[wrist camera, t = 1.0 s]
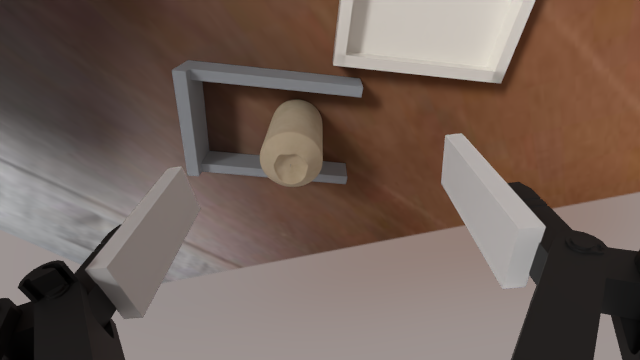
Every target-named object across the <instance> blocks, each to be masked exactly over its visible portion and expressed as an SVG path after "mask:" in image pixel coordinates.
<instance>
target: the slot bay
mask: <svg viewBox="0 0 640 360" xmlns="http://www.w3.org/2000/svg"><path fill="white" fill-rule="evenodd" d="M172 76H173V82H174V89H175V96H176V102H177V109H178V115H179V122H180V128H181V135H182V142H183V148H184V155H185V161H186V168H187V174H188V175H190V176H199V175H200V174H201V172H214V173H225V174H236V175H247V176H259V177H268V176H267V175H266V174H265V173H264V171H263V169H262V167H261V164H260V155H250V154H239V153H228V152H217V151H209V142H208V132H207V122H206V112H205V102H204V92H203V83H202V81H207V82H216V83H226V84H236V85H246V86H255V87H265V88H275V89H284V90H294V91H304V92H313V93H323V94H333V95H343V96H352V97H362V91H363V85H362V82H361V80H360V78H352V77H343V76H333V75H324V74H314V73H305V72H295V71H286V70H277V69H267V68H258V67H248V66H239V65H230V64H220V63H211V62H201V61H192V60H187V61H186V62H184V63H182V64H181V65H179V66H178V67H176V68H174V69H173V70H172ZM313 181H315V182H326V183H338V184H346V181H347V171H346V163H337V162H326V161H323V163H322V168H321V171H320V173H319V174H318V176H317V177H316V178H315V179H314V180H313Z"/></svg>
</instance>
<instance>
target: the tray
mask: <svg viewBox="0 0 640 360" xmlns="http://www.w3.org/2000/svg"><path fill="white" fill-rule="evenodd" d="M534 3H535V0H339V9H338V17H337V26H336V34H335V43H334V51H333V66H343V67H352V68H361V69H370V70H380V71H389V72H398V73H408V74H417V75H426V76H435V77H445V78H454V79H463V80H472V81H482V82H491V83H500V84H501V82H502V80H503V77H504V75H505V72H506V70H507V68H508V65H509V63H510V60H511V58H512V56H513V53H514V51H515V48H516V46H517V44H518V41H519V39H520V36H521V34H522V31H523V29H524V27H525V24H526V22H527V19H528V17H529V15H530V12H531V10H532V7H533V5H534Z"/></svg>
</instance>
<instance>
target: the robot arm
mask: <svg viewBox="0 0 640 360" xmlns="http://www.w3.org/2000/svg"><path fill="white" fill-rule="evenodd" d="M441 184H442V185H443V187H444V189H445V191H446V192H447V194H448V196H449V198H450V199H451V201H452V203H453V204H454V206H455V208H456V210H457V211H458V213H459V215H460V217H461V218H462V220H463V222H464V223H465V225H466V227H467V229H468V230H469V232H470V234H471V235H472V237H473V239H474V241H475V242H476V244H477V246H478V248H479V249H480V251H481V253H482V255H483V256H484V258H485V260H486V261H487V263H488V265H489V266H490V268H491V270H492V272H493V274H494V275H495V277H496V279H497V280H498V282H499V284H500V286H501V287H502V289H507V288H521V287H526V284H527V281H528V278H529V276H531V278H532V279H533V281H534V282H535V284H536V285H537V286H536V289H535V291H534V294H533V297H532V300H531V302H530V306H529V309H528V312H527V315H526V318H525V320H524V324H523V326H522V329H521V332H520V335H519V338H518V341H517V344H516V347H515V349H514V353H513V355H512V358H511V360H593V358H594V352H595V346H596V339H597V333H598V327H599V319H600V314H601V313H603V314H608V315H611V317H612V321H613V325H614V329H615V333H616V337H617V340H618V344H619V348H620V352H621V355H622V359H623V360H640V250H639V251H631V250H622V249H615V248H608V247H607V246H606V245H605V244H604V243H603V242H602V241H601V240H599V239H597V238H596V237H594V236H592V235H589V234H587V233H584V232H579V231H574V230H572V229H571V228H570V227H569V226H568V225H567V224H566V223H565V222H564V221H563V220H562V219H561V218H560V217H559V216H558V215H557V214H556V213H555V212H554V211H553V210H552V209H551V208H550V207H549V206H547V204H546V203H545V202H544V201H543V200H542V199H540V197H539V196H538V195H537V194H536V193H535V192H534V191H533V190H532V189H531V188H529V187H527V186H525V185H523V184H522V183H520V182H514V183H506V182H505V181H504V180H503V178H502V177H501V176H500V175H499V174H498V173H497V172H496V171H495V170H494V168H493V167H492V166H491V165H490V164H489V163H488V162H487V161H486V160H485V158H484V157H483V156H482V155H481V154H480V153H479V152H478V151H477V150H476V148H475V147H474V146H473V145H472V144H471V143H470V142H469V141H468V140H467V138H466V137H465V136H464V135H463V134H462V133H460V134H452V135H445V145H444V156H443V167H442V179H441ZM200 209H201V208H200V206H199V204H198V201H197V199H196V197H195V195H194V192H193V190H192V188H191V185H190V183H189V181H188V178H187V176H186V174H185V172H184V169H183V167H174V168H168V169H167V170H166V171H165V172H164V174H163V175H162V176H161V177H160V179H159V180H158V181H157V182H156V183H155V185H154V186H153V187H152V188H151V190H150V191H149V192H148V193H147V194H146V196H145V197H144V198H143V199H142V201H141V202H140V203H139V204H138V205H137V207H136V208H135V209H134V210H133V212H132V213H131V214H130V215H129V216H128V218H127V219H126V220H125V221H124V223H123V224H122V225H119V226H117V227H116V228H115V229H113V230H112V231H111V232H109V233H108V234H107V236H106V237H105V238H104V239H103V240H102V242H101V244H99V245H98V246H97V247H96V249H95V251H94V252H92V253H91V255H90V256H89V257H88V258H87V259H86V261H85V262H84V263H83V264H82V265H81V266H80V268H79V269H78V270H77V271H76V272H75V274H74V273H73V272H72V271H71V270H70V269H69V268H68V266H67V265H66V264H65V263H64V261H59V260H57V261H51V262H49V263H46V264H43V265H41V266H39V267H38V268H36V269H34V270H33V271H31V272H30V273H29V274H28V275H26V276H25V277H24V278H23V279H22V281H21V282H20V284H19V286H18V288H19V289H20V290H21V291H22V292H23V293H24V294H25V295H26V296H27V297H28V298H29V299H30V300H31V302H28V303H25V304H22V305H19V306H16V305H15V304H14V303H13V302H12V301H11V300H10V299H9V298H1V299H0V360H125V358H124V354H123V350H122V347H121V343H120V340H119V335H118V332H117V328H116V324H115V323H114V321H113V320H112V319H111V317H112V316H113V314H114V312H115V311H116V309H117V311H118V312H119V313H120V314H121V316H122V317H123V318H124V319H129V318H142V317H143V316H144V315H145V313H146V311H147V309H148V307H149V305H150V303H151V301H152V299H153V298H154V296H155V294H156V292H157V290H158V288H159V286H160V284H161V283H162V281H163V279H164V277H165V275H166V273H167V271H168V269H169V268H170V266H171V264H172V262H173V260H174V258H175V256H176V254H177V253H178V251H179V249H180V247H181V245H182V243H183V241H184V239H185V237H186V236H187V234H188V232H189V230H190V228H191V226H192V224H193V222H194V220H195V219H196V217H197V215H198V213H199V211H200Z"/></svg>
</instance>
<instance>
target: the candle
mask: <svg viewBox="0 0 640 360" xmlns="http://www.w3.org/2000/svg"><path fill="white" fill-rule="evenodd" d="M322 163H323V125H322V118H321V115H320V113H319V111H318V110H317V109H316V107H315V106H313V105H312V104H311V103H309V102H307V101H304V100H299V99H294V100H289V101H286V102H284V103H283V104H281V105H280V106H279V107H278V108H277V110H276V111H275V113H274V115H273V118H272V120H271V123H270V126H269V129H268V132H267V134H266V137H265V140H264V143H263V146H262V149H261V152H260V164H261V167H262V169H263V171H264V173H265V174H266V175H267V176H268V177H269V178H270V179H271V180H272V181H274V182H276V183H278V184H280V185H283V186H287V187H298V186H303V185H306V184H308V183H310V182H311V181H313V180H314V179H315V178H316V177H317V176H318V174H319V173H320V171H321V168H322Z"/></svg>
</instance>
